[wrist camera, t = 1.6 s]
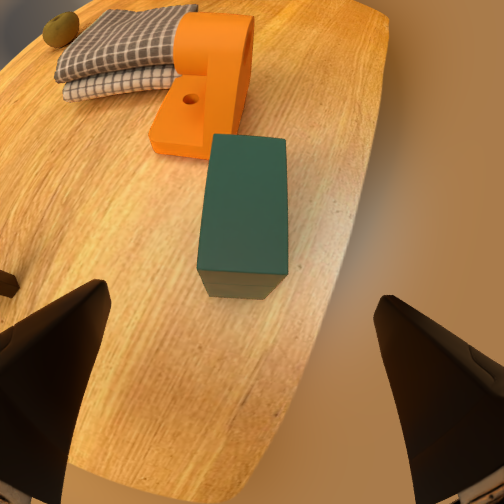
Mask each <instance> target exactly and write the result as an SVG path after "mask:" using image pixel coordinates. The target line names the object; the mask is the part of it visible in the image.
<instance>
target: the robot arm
mask: <svg viewBox="0 0 504 504" xmlns="http://www.w3.org/2000/svg"><path fill="white" fill-rule="evenodd" d="M110 309H111V299H110V295H109V290H108V286H107V283H106V281H104V280H99V279H93V280H91V281H89V282H88V283H86V284H84V285H82V286H80V287H78V288H77V289H75V290H73V291H71V292H69V293H68V294H66V295H64V296H62V297H61V298H59V299H57V300H55V301H54V302H52V303H50V304H48V305H47V306H45V307H43V308H41V309H40V310H38V311H36V312H35V313H33V314H31V315H30V316H28V317H26V318H25V319H23V320H21V321H20V322H18V323H16V324H15V325H14V326H11V327H10V328H8V329H7V330H5V331H3V332H2V333H0V504H31V499H32V497H33V498H35V499H38V500H40V501H42V502H44V503H47V504H61V495H62V488H63V482H64V476H65V471H66V465H67V460H68V455H69V450H70V445H71V441H72V437H73V433H74V429H75V425H76V421H77V417H78V414H79V410H80V406H81V403H82V400H83V396H84V393H85V390H86V387H87V383H88V380H89V377H90V374H91V371H92V368H93V366H94V363H95V360H96V357H97V354H98V351H99V349H100V346H101V342H102V338H103V334H104V331H105V327H106V323H107V320H108V316H109V312H110ZM373 320H374V325H375V328H376V333H377V338H378V342H379V347H380V351H381V356H382V359H383V363H384V366H385V369H386V372H387V376H388V379H389V382H390V386H391V389H392V392H393V396H394V400H395V404H396V407H397V411H398V415H399V419H400V423H401V426H402V431H403V435H404V440H405V444H406V448H407V454H408V458H409V464H410V469H411V475H412V480H413V487H414V494H415V501H416V504H436V503H438V502H440V501H443V500H445V499H447V498H449V497H451V496H453V495H455V494H457V493H458V497H459V499H457V500H455V501H454V502H452V503H451V504H504V367H503V366H501V365H500V364H498V363H497V362H495V361H493V360H492V359H490V358H489V357H487V356H485V355H484V354H483V353H481V352H480V351H478V350H476V349H475V348H474V347H472V346H471V345H468V344H467V343H466V342H465V341H463V340H462V339H460V338H459V337H457V336H456V335H454V334H453V333H451V332H450V331H448V330H447V329H445V328H444V327H442V326H441V325H439V324H438V323H436V322H435V321H433V320H432V319H430V318H428V317H427V316H425V315H424V314H422V313H420V312H419V311H418V310H416V309H414V308H413V307H411V306H410V305H408V304H407V303H405V302H403V301H402V300H400V299H399V298H397V297H395V296H394V295H383V296H382V297H381V298H380V301H379V303H378V306H377V308H376V310H375V313H374V317H373Z"/></svg>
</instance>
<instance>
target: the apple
mask: <svg viewBox="0 0 504 504" xmlns="http://www.w3.org/2000/svg"><path fill="white" fill-rule="evenodd" d="M78 30H79V18H78V16H77V15H76V14H75V13H73V12H65V13H62V14H60V15H58V16H56V17H55V18H53V19H52V20H50V21H49V22H48V23H47V24H46V25H45V27H44V29H43V39H44V41H45V42H46V43H47V44H48V45H49V46H51V47H54V48H59V47H63V46H65V45H67V44H68V43H69V42H70V41H72V40H73V39H74V38H75V36H76V35H77V33H78Z"/></svg>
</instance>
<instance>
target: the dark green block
mask: <svg viewBox="0 0 504 504" xmlns="http://www.w3.org/2000/svg"><path fill="white" fill-rule="evenodd" d="M197 271H198V273H199V275H200V277H201V279H202V282H203V284H204V286H205V288H206V290H207V293H208V295H209V296H210V297H224V298H241V299H262V300H263V299H265V298H266V297H267V296H268V295H269V294H270V293H271V292H272V291H273V290H274V289H275V288H276V286H277V285H278V284H279V283H280V282H281V281H282V280H283V279H284V278H285V277H286V276H287V275H288V191H287V158H286V140H285V139H280V138H271V137H261V136H249V135H234V134H213V139H212V146H211V152H210V159H209V165H208V172H207V180H206V187H205V195H204V203H203V211H202V219H201V228H200V237H199V247H198V257H197Z"/></svg>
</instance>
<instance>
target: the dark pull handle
mask: <svg viewBox="0 0 504 504" xmlns="http://www.w3.org/2000/svg"><path fill="white" fill-rule="evenodd" d="M19 288H20V287H19V285H18V283H17V280H16V278H15V276H14V275H12V274H9V273H7V272H4V271H2V270H0V295H2V296H6V297H9V298H12V297H13V296H14V295H15V293H16V292H17V291H18V290H19Z"/></svg>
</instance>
